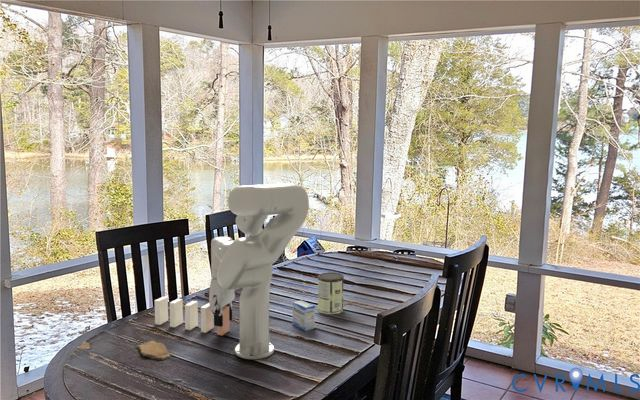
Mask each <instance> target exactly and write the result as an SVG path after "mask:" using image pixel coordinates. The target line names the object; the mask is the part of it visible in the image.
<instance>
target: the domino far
mask: <svg viewBox="0 0 640 400" xmlns="http://www.w3.org/2000/svg"><path fill="white" fill-rule="evenodd" d="M167 322H169V297H168V296H161V297H159V298H157V299H154V323H155V324H154V325H158V326H161V325H163V324H165V323H167Z"/></svg>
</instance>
